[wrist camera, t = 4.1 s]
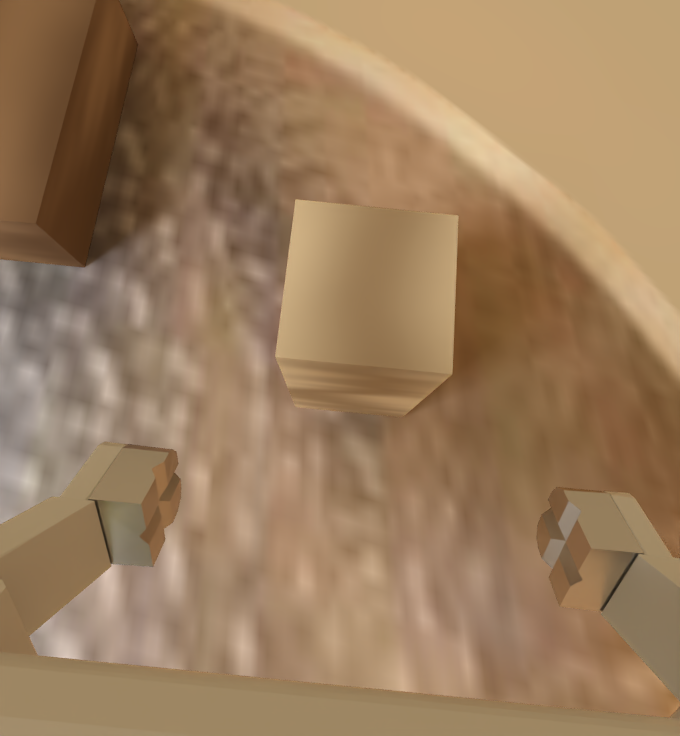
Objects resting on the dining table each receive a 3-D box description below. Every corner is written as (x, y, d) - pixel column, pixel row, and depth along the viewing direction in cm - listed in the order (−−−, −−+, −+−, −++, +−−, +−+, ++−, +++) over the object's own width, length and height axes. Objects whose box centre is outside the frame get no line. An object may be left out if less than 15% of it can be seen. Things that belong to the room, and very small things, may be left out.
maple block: (295, 407, 20) (275, 356, 12) (307, 306, 21) (295, 199, 13) (402, 417, 20) (452, 374, 12) (408, 316, 21) (458, 215, 13)
